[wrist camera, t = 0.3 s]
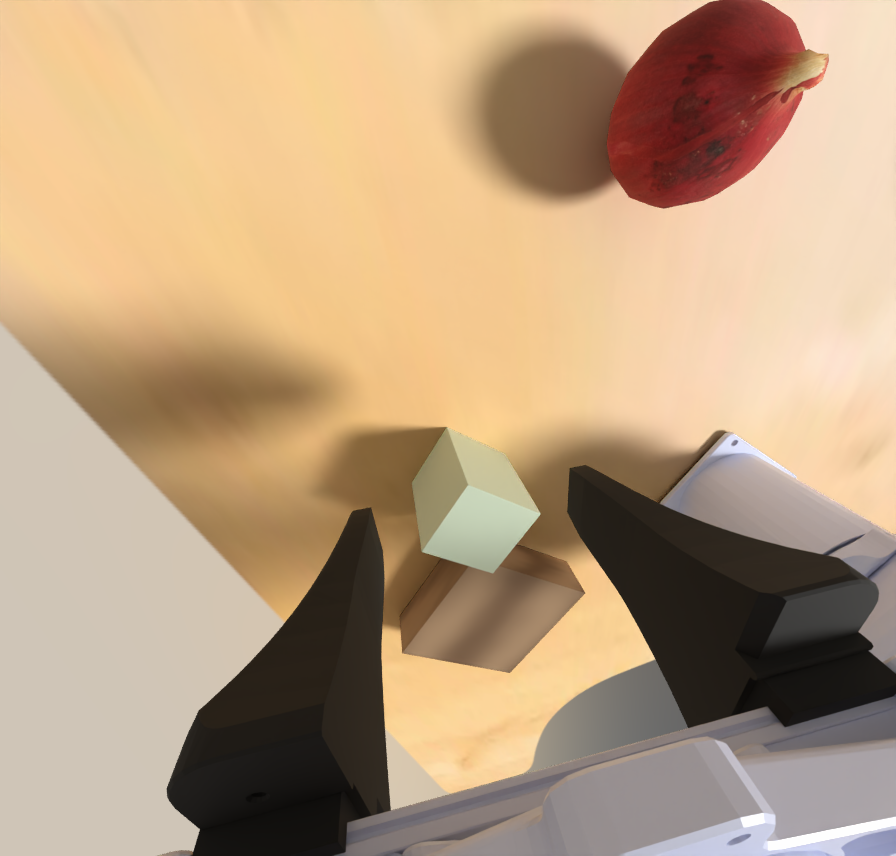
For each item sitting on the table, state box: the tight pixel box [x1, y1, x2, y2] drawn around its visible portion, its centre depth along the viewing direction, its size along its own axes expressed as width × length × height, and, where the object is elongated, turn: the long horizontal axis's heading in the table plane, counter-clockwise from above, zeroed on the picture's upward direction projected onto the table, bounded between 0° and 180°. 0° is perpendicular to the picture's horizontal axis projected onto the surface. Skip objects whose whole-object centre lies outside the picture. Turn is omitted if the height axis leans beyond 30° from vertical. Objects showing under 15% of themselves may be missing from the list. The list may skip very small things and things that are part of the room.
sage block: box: [412, 427, 541, 573], centre depth 21 cm, size 4×4×6 cm
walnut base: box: [400, 544, 585, 673], centre depth 28 cm, size 10×10×3 cm
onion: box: [607, 0, 829, 208], centre depth 14 cm, size 6×6×8 cm
